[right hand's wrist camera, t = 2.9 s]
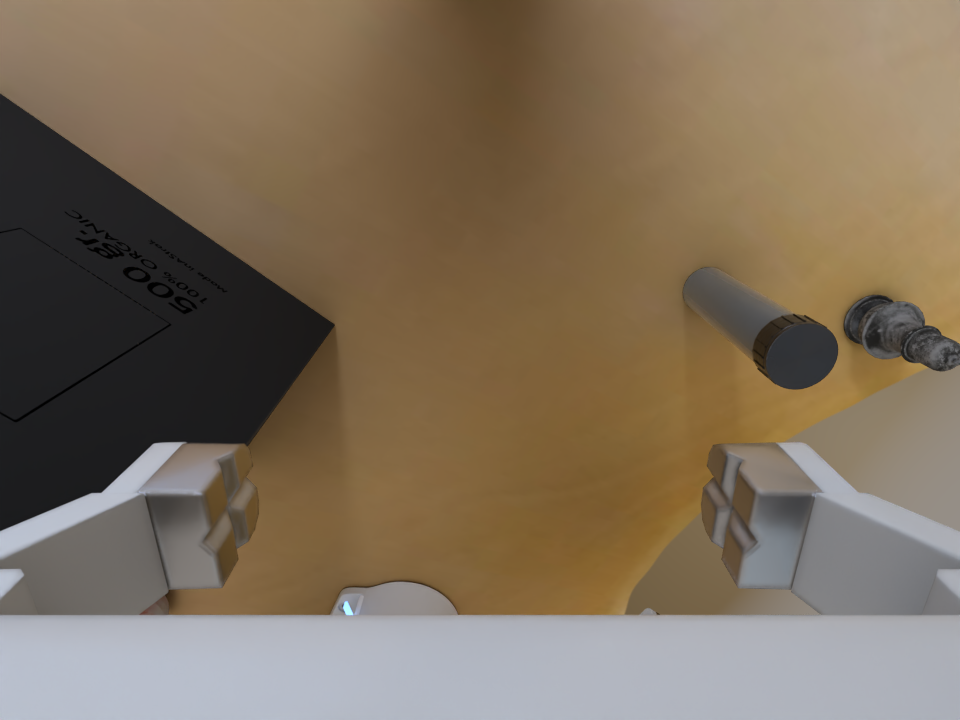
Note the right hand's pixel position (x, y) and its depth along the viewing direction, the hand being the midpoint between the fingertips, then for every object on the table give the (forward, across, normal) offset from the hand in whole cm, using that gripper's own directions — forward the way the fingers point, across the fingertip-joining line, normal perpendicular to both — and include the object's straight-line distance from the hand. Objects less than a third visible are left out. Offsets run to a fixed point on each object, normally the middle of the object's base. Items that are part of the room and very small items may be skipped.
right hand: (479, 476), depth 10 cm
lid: (+30, -23, +9) cm, 39 cm away
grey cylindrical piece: (+48, -23, +9) cm, 54 cm away
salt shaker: (+48, -40, +12) cm, 64 cm away
